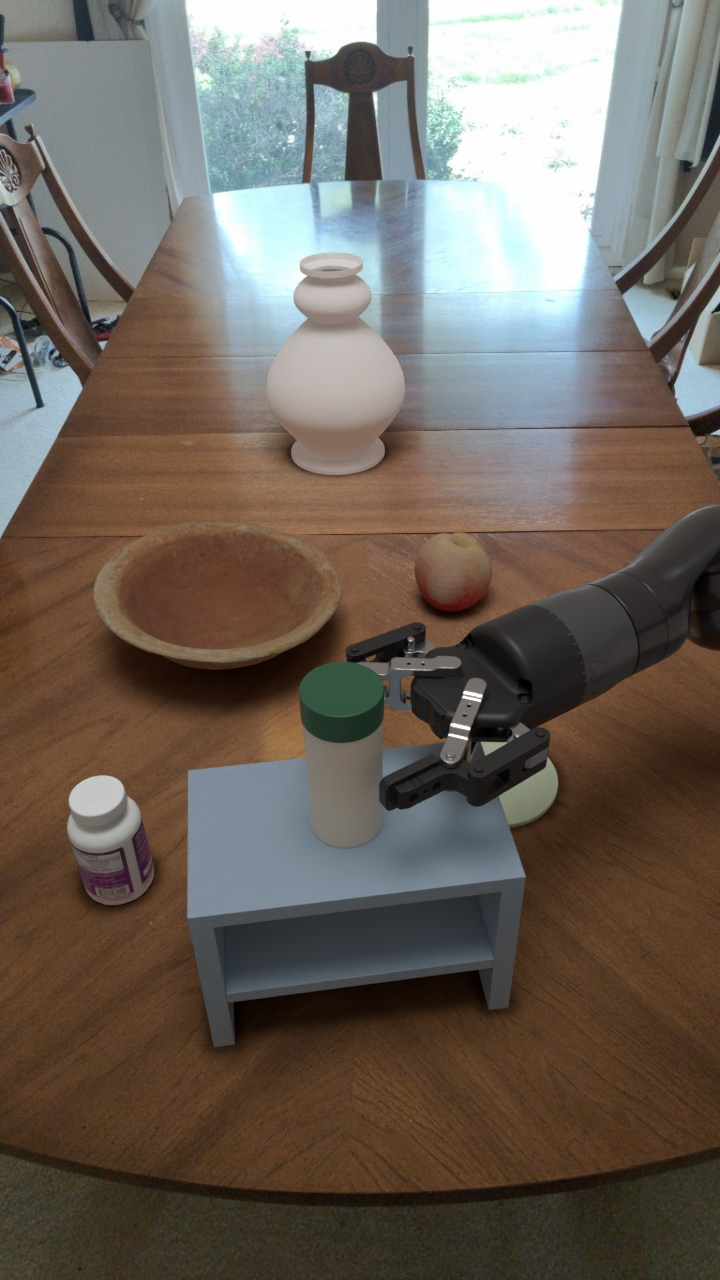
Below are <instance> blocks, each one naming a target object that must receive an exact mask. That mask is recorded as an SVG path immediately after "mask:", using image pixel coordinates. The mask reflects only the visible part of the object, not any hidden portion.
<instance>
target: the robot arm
mask: <svg viewBox="0 0 720 1280" xmlns="http://www.w3.org/2000/svg"><path fill="white" fill-rule="evenodd" d="M687 640H688V641H689V642H691V643H692V644H694V645H696V646H698V647H700V648H701V649H702V648H703V649H705V650H710V651H715V652H716V651H717V652H720V503H713V504H708V505H705V506H701V507H699V508H697V509H695V510H692V511H691V512H688V513H687V514H684V515H683V516H681V517H680V518H679V519H677V520H675V521H674V522H672V523H671V524H670V525H668V526H667V527H666V528H665V529H664V530H663V531H661V532H660V533H659V534H658V535H657V536H656V537H655V538H654V539H653V540H652V541H651V542H650V543H649V544H648V545H646V547H645V548H644V549H642V551H640V552H639V553H638V554H637V555H635V556H634V557H633V558H632V559H631V560H629V561H628V562H627V563H626V564H624V565H623V566H622V567H621V568H619V569H617V570H615V571H612V572H610V573H608V574H605V575H603V576H601V577H599V578H596V579H594V580H591V581H589V582H587V583H585V584H582V585H580V586H577V587H574V588H570V589H565V590H561V591H557V592H554V593H552V594H549V595H546V596H545V597H542V598H540V599H538V600H535V601H533V602H530V603H528V604H526V605H523V606H521V607H519V608H516V609H513V610H512V611H509V612H506V613H505V614H503V615H500V616H498V617H496V618H493V619H491V620H488V621H486V622H483V623H481V624H479V625H476V626H475V627H474V628H472V630H470V631H469V632H468V634H466V636H465V637H464V638H463V639H462V640H461V641H460V642H459V643H457V644H455V645H450V646H438V647H436V646H435V645H434V644H433V643H432V642H431V641H430V640H429V638H427V626H426V625H425V623H422V622H417V621H416V622H412V623H408V624H406V625H403V626H400V627H397V628H395V629H391V630H389V631H386V632H384V633H383V632H382V633H380V634H378V635H375V636H372V637H369V638H367V639H364V640H360V641H358V642H355V643H353V644H350V645H348V646H347V647H346V648H345V658H346V661H345V662H352V663H357V664H361V665H364V666H366V667H368V668H370V669H372V670H373V671H374V672H375V673H377V674H378V676H379V677H380V678H381V680H382V681H386V682H387V683H388V685H384V705H385V704H386V705H387V706H388V707H389V708H391V709H392V710H399V711H411V713H412V714H413V715H414V716H415V717H416V718H417V719H419V720H421V721H422V722H424V723H426V724H427V725H428V726H429V728H430V729H431V732H432V733H433V734H434V735H435V736H436V737H437V738H438V739H439V740H443V739H445V741H444V742H445V744H444V746H443V748H442V751H441V753H440V758H437V757H436V756H435V755H434V754H433V753H432V754H430V755H428V756H426V757H424V758H422V759H420V760H418V761H416V762H414V763H412V764H410V765H408V766H405V767H403V768H401V769H399V770H397V771H395V772H393V773H391V774H389V775H387V776H385V777H384V778H383V779H382V780H381V781H380V783H379V802H380V803H381V804H382V805H383V806H384V807H385V809H386V810H387V811H392V810H394V809H396V808H398V809H399V810H402V809H409V808H411V807H413V806H415V805H417V804H419V803H421V802H422V801H425V800H427V799H429V798H431V797H433V796H435V795H436V794H438V793H440V792H443V791H445V792H454V791H457V792H459V793H461V794H463V795H464V796H466V800H467V802H468V803H469V804H470V805H472V806H475V807H479V806H483V805H485V804H486V803H488V802H490V801H491V800H493V799H495V798H496V797H498V796H500V795H501V794H503V793H505V792H506V791H508V790H510V789H511V788H513V787H515V786H516V785H518V784H520V783H521V782H523V781H525V780H526V779H528V778H530V777H531V776H533V775H535V774H536V773H538V772H540V771H541V770H543V769H544V768H545V767H546V764H547V757H548V758H549V749H550V741H551V732H550V731H549V730H548V729H547V728H545V727H542V725H544V724H546V723H548V722H550V721H552V720H554V719H556V718H558V717H560V716H562V715H564V714H566V713H568V712H570V711H573V710H574V709H577V708H578V707H580V706H583V705H584V704H586V703H588V702H590V701H592V700H594V699H596V698H598V697H600V696H602V695H604V694H606V693H607V692H608V691H610V690H612V689H614V687H616V686H618V684H620V683H621V682H623V681H625V680H626V679H628V678H631V677H633V676H634V675H637V674H638V673H641V672H643V671H645V670H646V669H648V668H651V667H653V666H655V665H657V664H659V663H661V662H664V661H665V660H667V659H668V658H670V657H672V656H673V655H675V654H677V652H679V651H680V649H682V648H683V646H684V645H685V643H686V641H687ZM373 656H374V658H373V659H372V660H369V661H367V658H370V657H373ZM405 677H413V679H412V681H411V682H410V689H409V691H406V690H404V689H403V687H402V679H403V678H405ZM540 726H541V727H540ZM478 742H507V744H505V745H503V746H502V747H500V748H498V749H496V750H495V751H493V752H491V753H489V754H488V755H486V756H484V757H482V758H481V759H479V760H477V761H475V762H474V763H470V762H471V760H472V757H473V755H474V752H475V749H476V747H477V744H478Z"/></svg>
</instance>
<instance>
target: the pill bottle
mask: <svg viewBox="0 0 720 1280" xmlns="http://www.w3.org/2000/svg"><path fill="white" fill-rule="evenodd" d="M68 806H69V811H70V814H69V816H68V819H67V824H66V833H67V837H68V840H69V843H70V846H71V849H72V852H73V856H74V858H75V861H76V865H77V868H78V871H79V874H80V877H81V880H82V883H83V886H84V889H85V891H86V893H87V894H88V896H89V897H90V898H91V899H92V900H94V901H95V902H97V903H99V904H102V905H104V906H120V905H123V904H128V903H130V902H132V901H135V900H137V899H139V898H140V897H141V896H143V894H145V893H146V892H147V891H148V889H149V887H150V886H151V884H152V883H153V881H154V876H155V867H154V861H153V856H152V853H151V847H150V844H149V841H148V836H147V832H146V828H145V825H144V820H143V817H142V812H141V810H140V807H139V806H138V804H137V803H136V802H135V800H133V798H131V797H130V796H128V795H127V791H126V789H125V786H124V784H123V783H122V781H120V780H119V778H116V777H115V776H111V775H104V774H101V775H94V776H91V777H87V778H86V779H84V780H82V781H80V782H79V783H77V784H76V785H75V786H74V787H73V788H72V790H71V792H70V793H69V796H68Z"/></svg>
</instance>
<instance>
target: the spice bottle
mask: <svg viewBox="0 0 720 1280" xmlns="http://www.w3.org/2000/svg"><path fill="white" fill-rule="evenodd" d="M384 686H385V685H384V683H383V680H381V678H380V677H379V676H378V674H377V673H375V672H374V671H373V670H372V669H370V668H368V667H366V666H364V665H361V664H357V663H352V662H346V661H336V662H329V663H325V664H322V665H320V666H317V667H315V668H313V669H312V670H310V671H309V672H308V673H307V674H306V675H305V676H304V677H303V678H302V680H301V682H300V683H299V686H298V699H299V712H300V720H301V723H302V728H303V729H302V730H303V743H304V755H305V756H304V758H306V771H307V784H308V797H309V811H310V824H311V828H312V830H313V832H314V834H315V835H316V836H317V837H318V838H319V839H320V840H321V841H323V842H324V843H326V844H328V845H330V846H334V847H338V848H353V847H358V846H361V845H364V844H366V843H368V842H369V841H371V840H372V839H373V838H375V837H376V835H377V834H378V833H379V831H380V830H381V827H382V824H383V805H382V804H381V803H380V802H379V783H380V781H381V780H382V779H383V749H384V748H383V747H384V745H383V722H384V718H385V703H384Z"/></svg>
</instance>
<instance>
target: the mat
mask: <svg viewBox="0 0 720 1280" xmlns="http://www.w3.org/2000/svg"><path fill="white" fill-rule="evenodd" d="M481 744H482V747H483V750H484V753H485V756H486V755H488V754H489V753H491V752H493V751H495V750H496V749H498V748H500V747H502V746H503V745H505V744H507V742H481ZM558 790H559V776H558V772H557V769H556V767H555V766H554V764H553V762H552V760H551V759H550V757H549V756H548V757H547V764H546V767H545V768H544V769H543V770H541V771H540V772H538V773H536V774H535V775H533V776H531V777H530V778H528V779H526V780H525V781H523V782H521V783H520V784H518V785H516V786H515V787H513V788H511V789H510V790H508V791H506V792H505V793H503V794H501V795H500V796H499V798H500V801H501V804H502V807H503V810H504V813H505V816H506V819H507V822H508V825H509V828H510V829H512V828H517V827H521V826H525V825H528V824H530V823H532V822H534V821H536V820H538V819H539V818H541V817H542V816H543V815H544V814H545V813H547V812H548V811H549V809H551V807H552V806H553V804H554V803H555V800H556V798H557V794H558Z"/></svg>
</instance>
